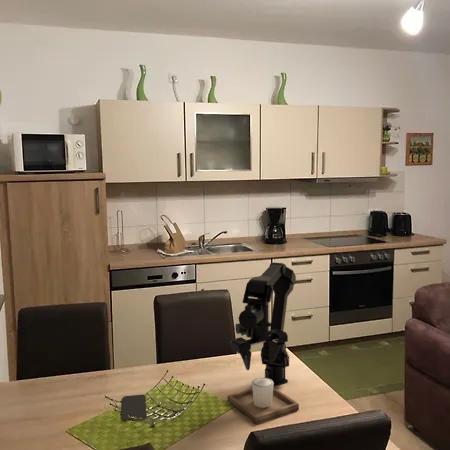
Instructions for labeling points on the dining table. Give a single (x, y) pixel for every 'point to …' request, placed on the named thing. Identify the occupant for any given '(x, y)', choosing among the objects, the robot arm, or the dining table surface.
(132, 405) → the phone
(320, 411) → the dining table surface
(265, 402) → the shot glass
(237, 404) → the walnut tray
